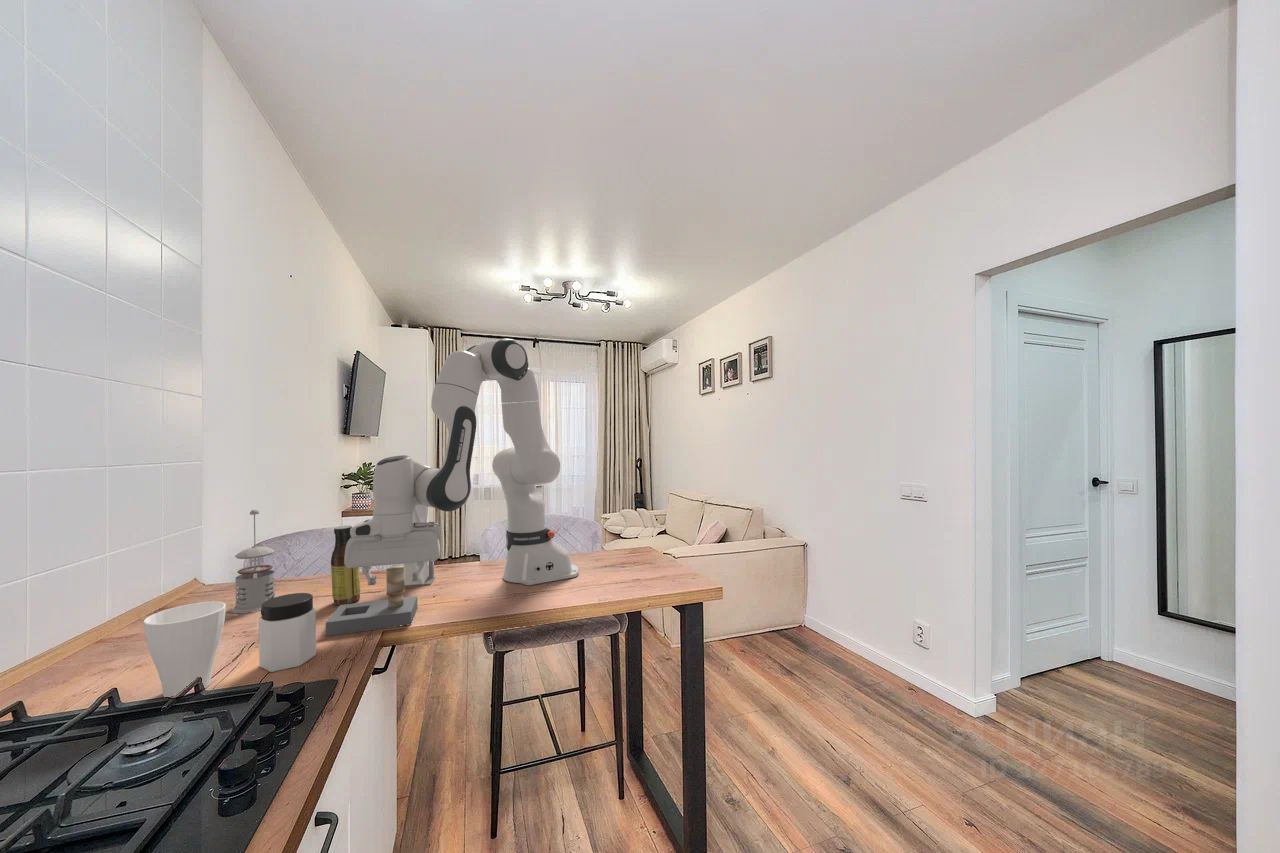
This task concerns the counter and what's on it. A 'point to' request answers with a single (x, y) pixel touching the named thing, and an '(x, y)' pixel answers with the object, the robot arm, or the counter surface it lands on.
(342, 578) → the sauce bottle
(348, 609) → the board
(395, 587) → the peg
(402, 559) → the robot arm
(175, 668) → the cup
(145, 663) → the counter surface
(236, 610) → the french press
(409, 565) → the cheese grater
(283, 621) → the jar
